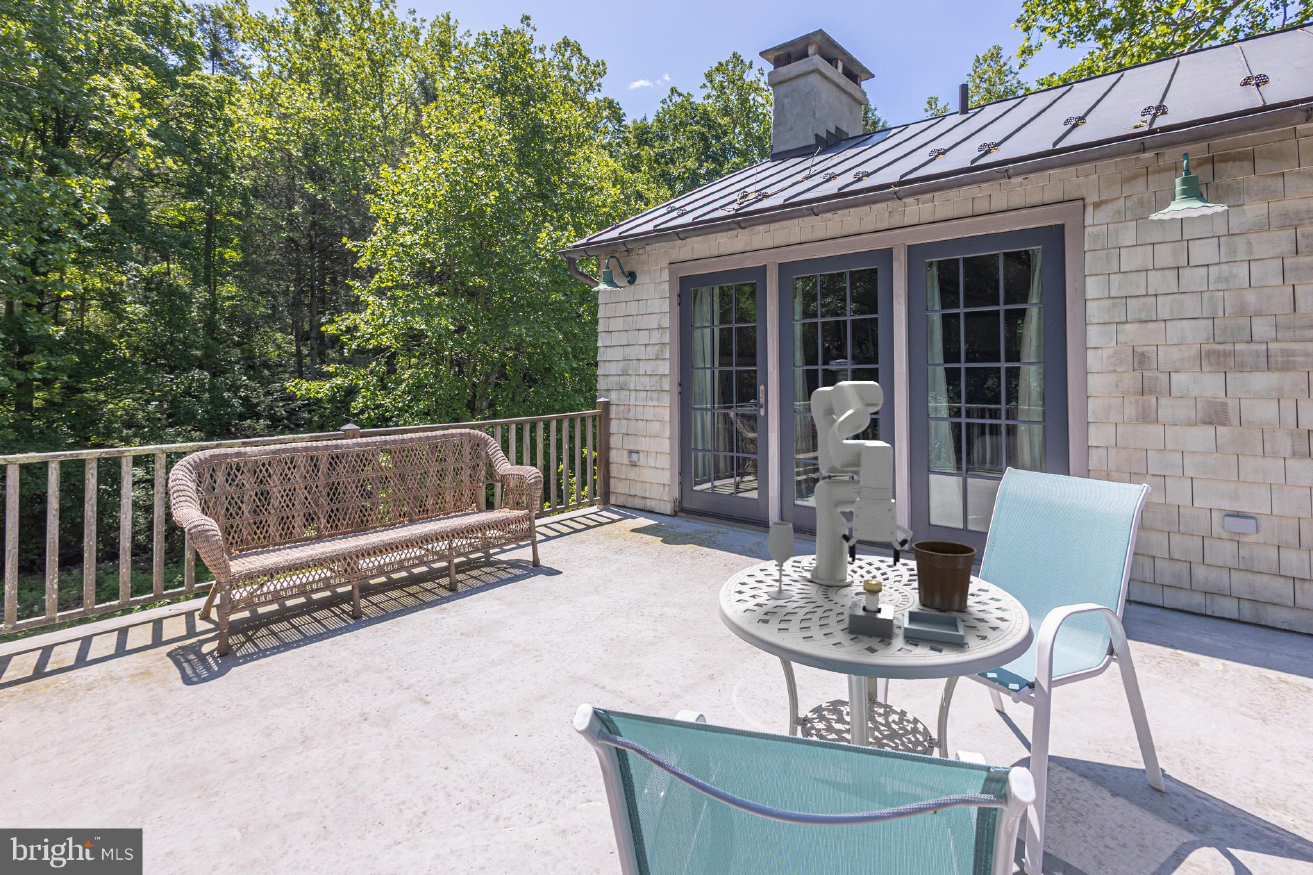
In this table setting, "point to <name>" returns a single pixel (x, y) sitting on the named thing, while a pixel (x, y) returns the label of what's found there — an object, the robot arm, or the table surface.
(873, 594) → the pin
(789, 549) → the wineglass
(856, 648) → the table surface
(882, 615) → the block
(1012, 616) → the table surface
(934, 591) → the plant pot
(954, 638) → the tray
